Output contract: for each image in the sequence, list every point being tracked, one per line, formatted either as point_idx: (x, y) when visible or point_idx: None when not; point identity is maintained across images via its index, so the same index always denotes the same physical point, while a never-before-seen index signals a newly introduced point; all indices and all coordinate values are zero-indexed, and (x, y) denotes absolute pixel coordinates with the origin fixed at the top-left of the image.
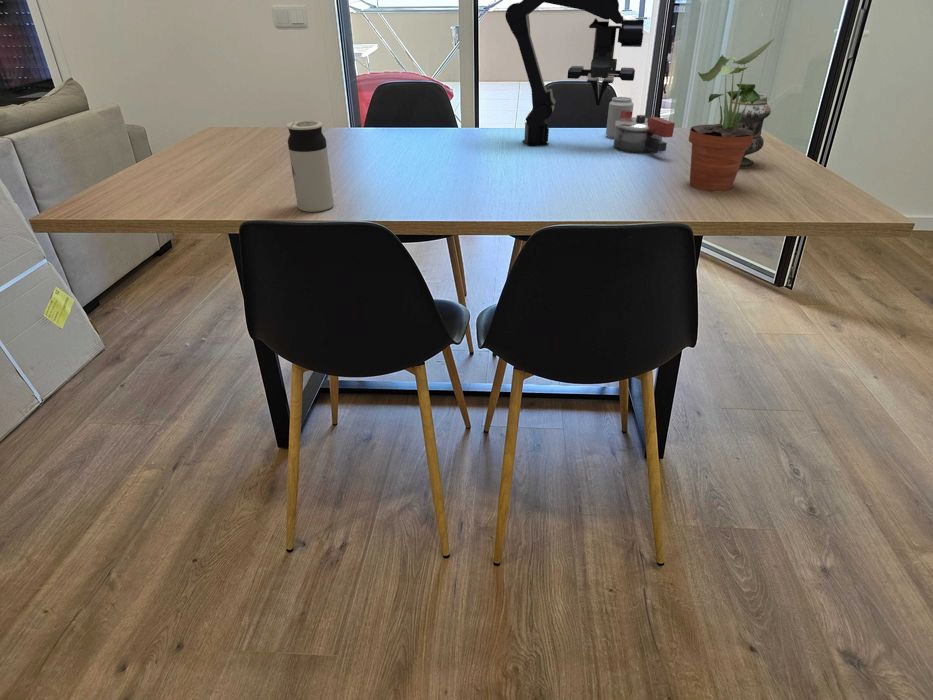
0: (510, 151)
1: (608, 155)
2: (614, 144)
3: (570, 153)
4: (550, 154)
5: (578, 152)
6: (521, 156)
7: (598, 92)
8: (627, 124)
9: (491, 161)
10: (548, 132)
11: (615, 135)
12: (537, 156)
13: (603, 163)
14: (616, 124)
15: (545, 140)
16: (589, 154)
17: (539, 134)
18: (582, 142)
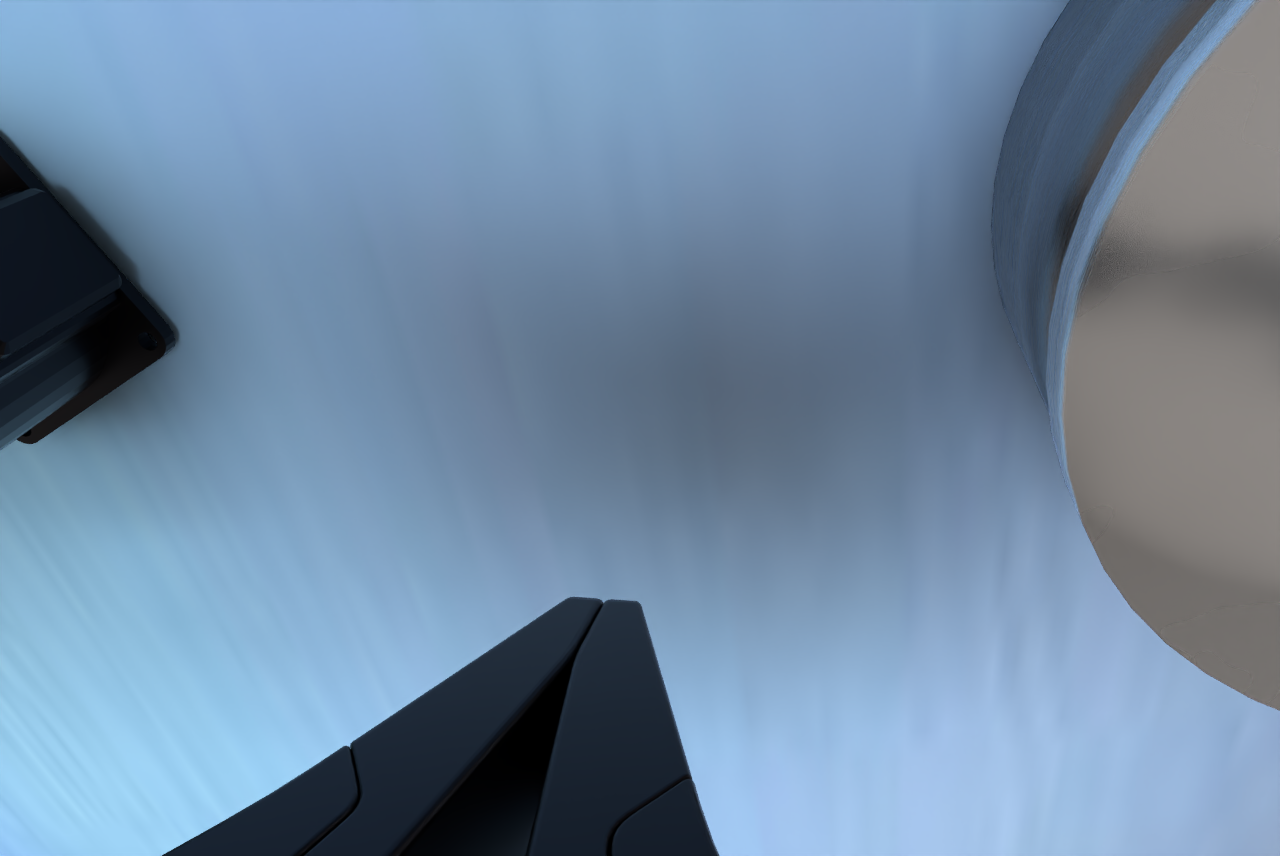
0: (5, 612)
1: (910, 601)
2: (1008, 305)
3: (512, 592)
4: (352, 648)
5: (580, 545)
6: (170, 729)
7: (493, 853)
8: (1272, 601)
9: (68, 848)
10: (43, 323)
11: (1032, 357)
12: (280, 715)
13: (859, 828)
14: (1064, 467)
15: (98, 318)
16: (704, 596)
17: (10, 441)
18: (514, 25)
